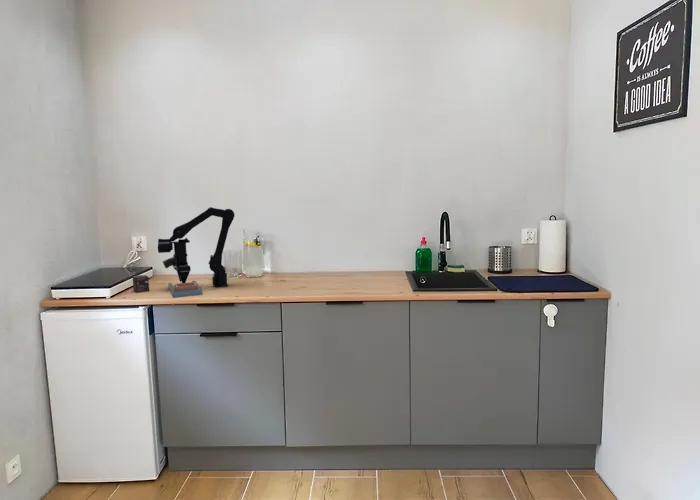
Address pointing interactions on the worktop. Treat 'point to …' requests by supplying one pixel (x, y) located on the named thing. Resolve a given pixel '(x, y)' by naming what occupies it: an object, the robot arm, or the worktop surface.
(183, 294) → the crate bay
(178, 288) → the crate
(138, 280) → the box
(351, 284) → the worktop surface
